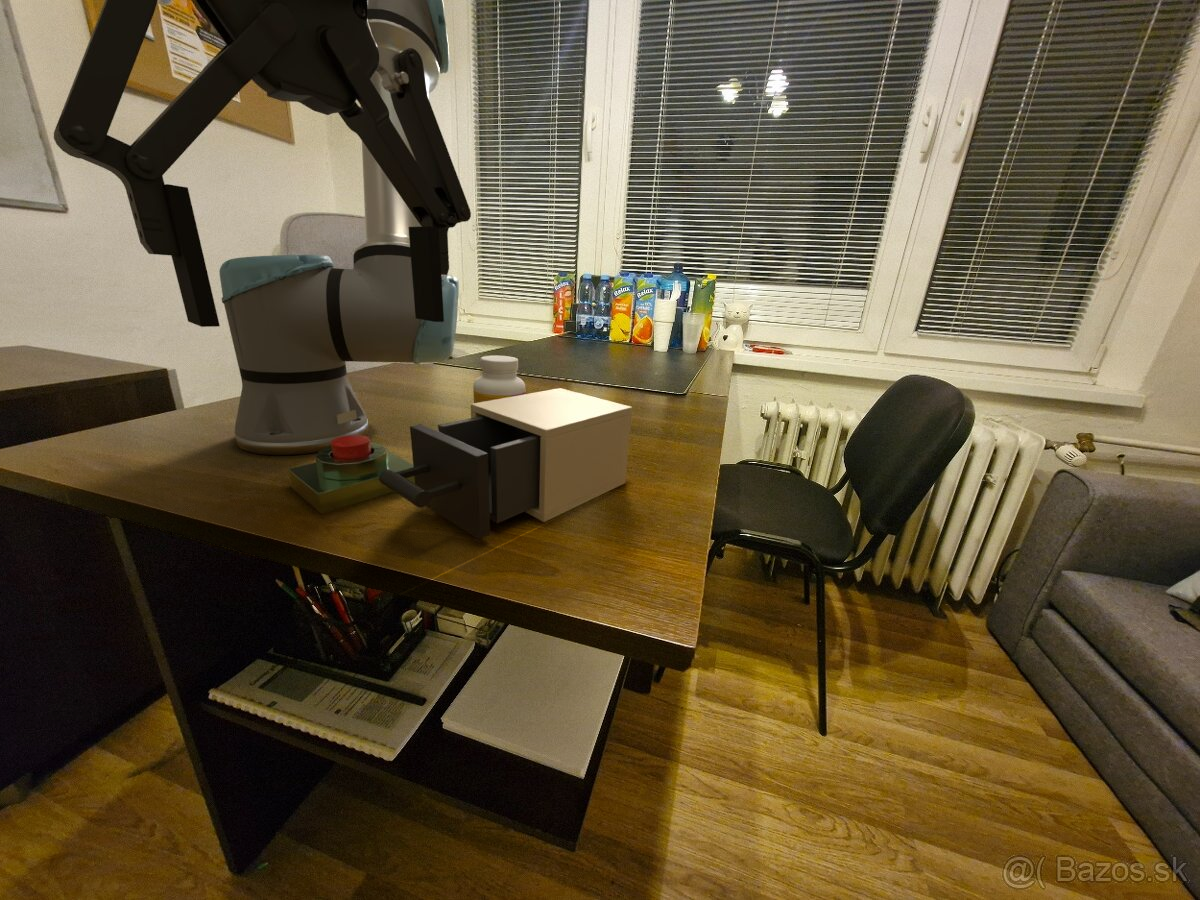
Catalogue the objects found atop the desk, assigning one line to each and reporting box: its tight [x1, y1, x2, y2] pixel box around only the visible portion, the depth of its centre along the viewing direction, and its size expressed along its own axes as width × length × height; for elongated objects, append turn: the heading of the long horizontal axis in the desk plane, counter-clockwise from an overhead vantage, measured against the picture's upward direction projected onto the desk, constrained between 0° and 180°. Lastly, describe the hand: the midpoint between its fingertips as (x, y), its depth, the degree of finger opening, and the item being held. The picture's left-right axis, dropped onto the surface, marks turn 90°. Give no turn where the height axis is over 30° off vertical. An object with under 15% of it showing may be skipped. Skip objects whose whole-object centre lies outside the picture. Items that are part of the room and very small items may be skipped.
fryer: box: [470, 387, 633, 523], centre depth 50 cm, size 14×12×10 cm
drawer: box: [379, 416, 541, 540], centre depth 43 cm, size 17×10×8 cm, turn 141°
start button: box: [331, 435, 372, 460], centre depth 46 cm, size 4×4×2 cm
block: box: [287, 441, 415, 515], centre depth 47 cm, size 8×10×4 cm
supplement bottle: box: [472, 355, 527, 404], centre depth 58 cm, size 7×7×13 cm
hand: (336, 322), depth 29 cm, fingers open, 13 cm apart
